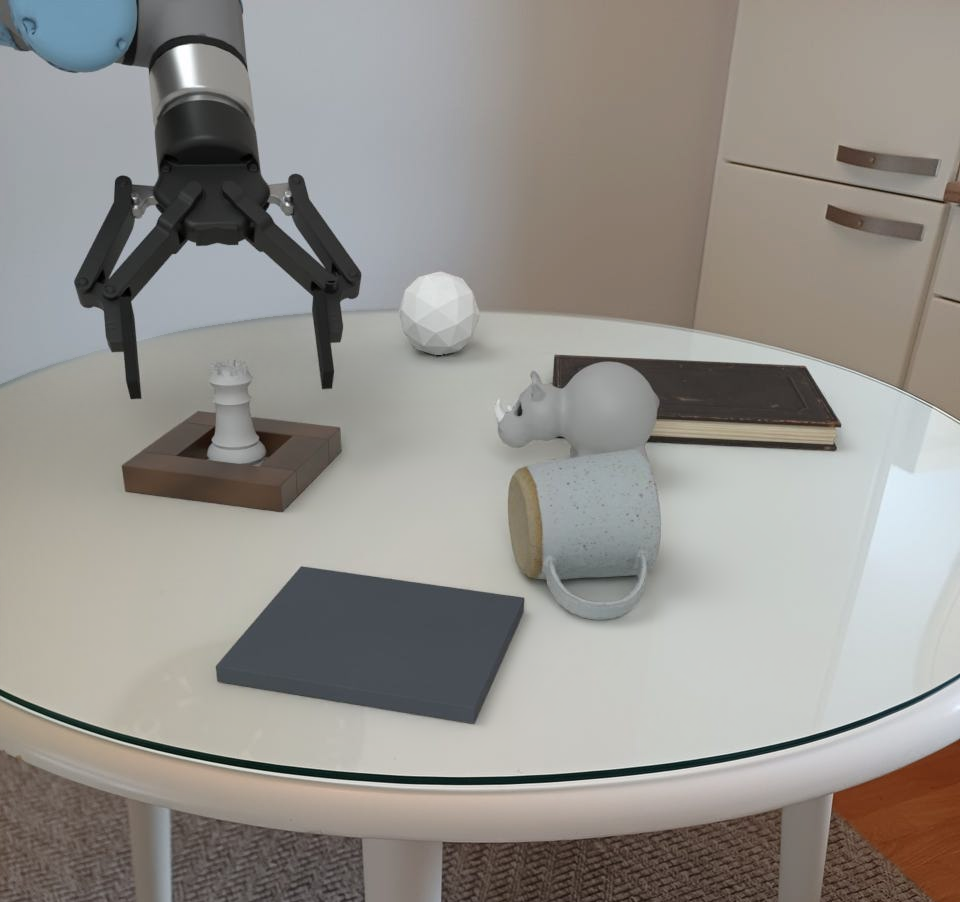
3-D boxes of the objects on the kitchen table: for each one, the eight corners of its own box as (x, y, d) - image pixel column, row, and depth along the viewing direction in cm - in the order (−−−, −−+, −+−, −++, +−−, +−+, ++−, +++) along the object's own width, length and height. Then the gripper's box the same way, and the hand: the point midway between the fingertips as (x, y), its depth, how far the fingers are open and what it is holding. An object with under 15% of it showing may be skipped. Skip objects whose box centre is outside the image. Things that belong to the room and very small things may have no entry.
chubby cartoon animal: (492, 453, 88) (496, 345, 84) (645, 458, 88) (656, 351, 84) (491, 489, 82) (495, 375, 78) (655, 495, 82) (668, 381, 78)
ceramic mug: (500, 549, 74) (505, 438, 69) (619, 540, 75) (630, 431, 71) (541, 632, 65) (550, 511, 61) (675, 620, 66) (692, 501, 62)
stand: (124, 491, 80) (120, 465, 79) (200, 434, 90) (197, 410, 89) (282, 512, 78) (280, 485, 77) (341, 451, 88) (341, 426, 87)
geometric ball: (447, 385, 111) (443, 334, 104) (386, 343, 113) (378, 290, 106) (495, 335, 113) (495, 282, 106) (435, 295, 115) (430, 240, 108)
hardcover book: (836, 450, 91) (841, 423, 89) (551, 437, 92) (552, 409, 90) (800, 388, 104) (804, 363, 103) (552, 376, 105) (554, 352, 104)
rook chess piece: (219, 457, 86) (209, 353, 82) (276, 461, 86) (268, 357, 82) (199, 479, 82) (187, 372, 78) (258, 484, 82) (249, 376, 78)
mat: (216, 681, 59) (215, 665, 59) (301, 580, 69) (301, 565, 69) (474, 724, 56) (474, 708, 56) (524, 612, 67) (524, 597, 66)
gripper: (365, 160, 91) (399, 399, 86) (41, 163, 86) (58, 418, 81) (373, 94, 84) (411, 351, 79) (20, 93, 79) (38, 368, 74)
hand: (232, 385), depth 80 cm, fingers open, 13 cm apart
